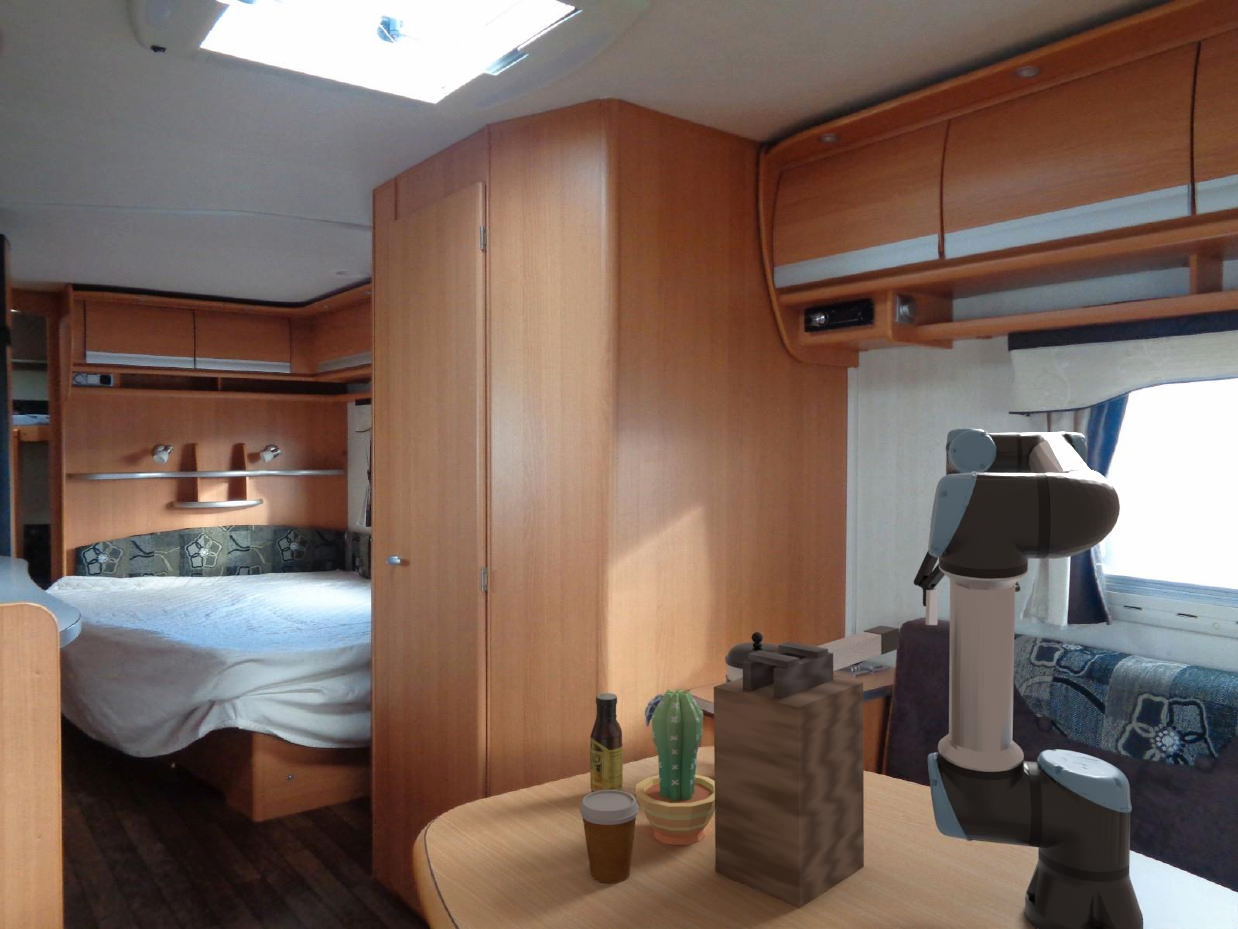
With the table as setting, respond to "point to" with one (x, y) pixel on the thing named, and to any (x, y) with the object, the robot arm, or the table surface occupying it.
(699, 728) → the potted cactus
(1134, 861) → the table surface
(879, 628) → the white bar dark ends
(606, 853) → the disposable coffee cup
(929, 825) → the table surface
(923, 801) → the table surface
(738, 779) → the walnut post
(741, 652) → the coffee press
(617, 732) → the sauce bottle
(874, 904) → the table surface
